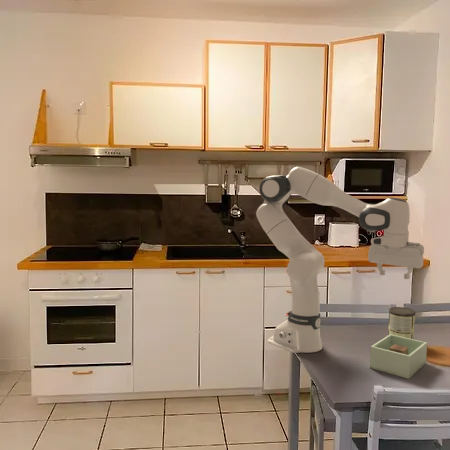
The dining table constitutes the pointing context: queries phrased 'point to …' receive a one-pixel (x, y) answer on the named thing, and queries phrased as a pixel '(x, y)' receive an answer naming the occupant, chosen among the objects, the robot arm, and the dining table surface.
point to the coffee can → (401, 322)
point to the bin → (398, 356)
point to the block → (399, 349)
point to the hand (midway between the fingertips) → (394, 276)
